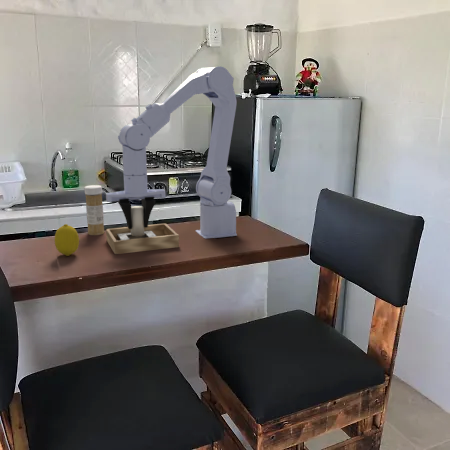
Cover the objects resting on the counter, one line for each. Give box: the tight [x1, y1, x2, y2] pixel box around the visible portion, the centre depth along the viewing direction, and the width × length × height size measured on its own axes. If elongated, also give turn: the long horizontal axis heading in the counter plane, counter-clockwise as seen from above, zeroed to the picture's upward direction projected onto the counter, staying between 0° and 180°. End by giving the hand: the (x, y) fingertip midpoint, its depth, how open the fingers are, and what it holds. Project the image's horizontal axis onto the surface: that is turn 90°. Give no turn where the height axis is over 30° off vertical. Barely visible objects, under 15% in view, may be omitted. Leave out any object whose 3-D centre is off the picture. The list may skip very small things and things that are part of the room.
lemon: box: [54, 223, 80, 257], centre depth 119 cm, size 6×6×8 cm
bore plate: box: [117, 230, 157, 241], centre depth 129 cm, size 9×9×2 cm
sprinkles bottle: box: [84, 184, 106, 236], centre depth 137 cm, size 5×5×14 cm
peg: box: [131, 205, 144, 236], centre depth 128 cm, size 3×3×7 cm
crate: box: [105, 223, 180, 255], centre depth 129 cm, size 16×12×4 cm
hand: (137, 227), depth 128 cm, fingers closed on peg, 3 cm apart
